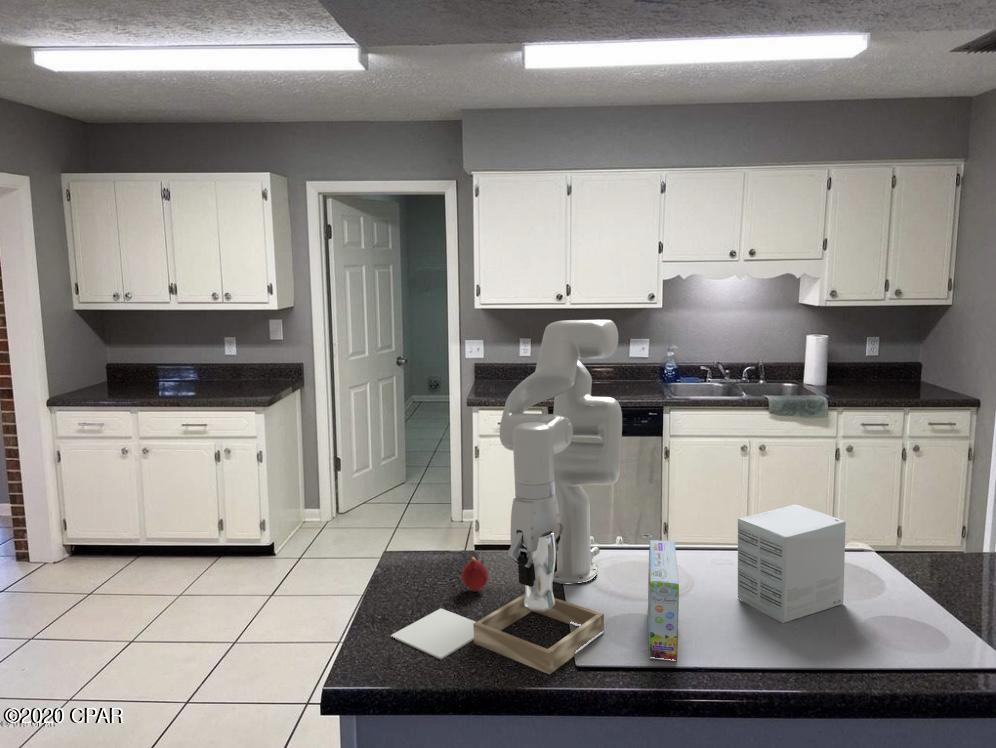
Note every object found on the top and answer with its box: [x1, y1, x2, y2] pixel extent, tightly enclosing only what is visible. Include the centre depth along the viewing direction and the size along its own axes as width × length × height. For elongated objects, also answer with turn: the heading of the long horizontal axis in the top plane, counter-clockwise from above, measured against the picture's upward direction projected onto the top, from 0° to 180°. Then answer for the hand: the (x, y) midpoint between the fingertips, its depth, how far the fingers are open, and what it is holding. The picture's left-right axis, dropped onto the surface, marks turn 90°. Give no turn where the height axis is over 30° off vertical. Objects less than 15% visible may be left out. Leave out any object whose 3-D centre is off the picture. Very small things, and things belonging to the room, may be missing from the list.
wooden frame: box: [473, 593, 605, 675], centre depth 138 cm, size 18×18×4 cm
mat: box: [390, 607, 477, 660], centre depth 142 cm, size 14×14×1 cm
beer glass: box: [522, 530, 556, 613], centre depth 137 cm, size 7×7×15 cm
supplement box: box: [737, 503, 847, 624], centre depth 148 cm, size 17×13×18 cm
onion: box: [461, 556, 489, 593], centre depth 159 cm, size 6×6×8 cm
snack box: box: [647, 539, 680, 661], centre depth 138 cm, size 21×6×15 cm, turn 168°
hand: (538, 576), depth 137 cm, fingers closed on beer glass, 6 cm apart
